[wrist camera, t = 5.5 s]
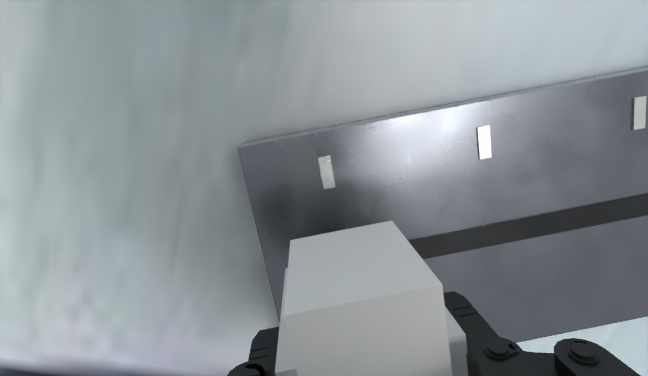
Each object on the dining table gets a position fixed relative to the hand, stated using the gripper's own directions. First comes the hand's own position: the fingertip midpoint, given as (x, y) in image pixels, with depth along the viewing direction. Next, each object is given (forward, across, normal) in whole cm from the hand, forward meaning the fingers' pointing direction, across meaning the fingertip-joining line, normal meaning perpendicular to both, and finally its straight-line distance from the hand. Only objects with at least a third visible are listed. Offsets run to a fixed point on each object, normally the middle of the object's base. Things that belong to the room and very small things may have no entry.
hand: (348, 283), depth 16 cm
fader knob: (+2, 0, 0) cm, 2 cm away
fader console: (+5, +12, 0) cm, 13 cm away
